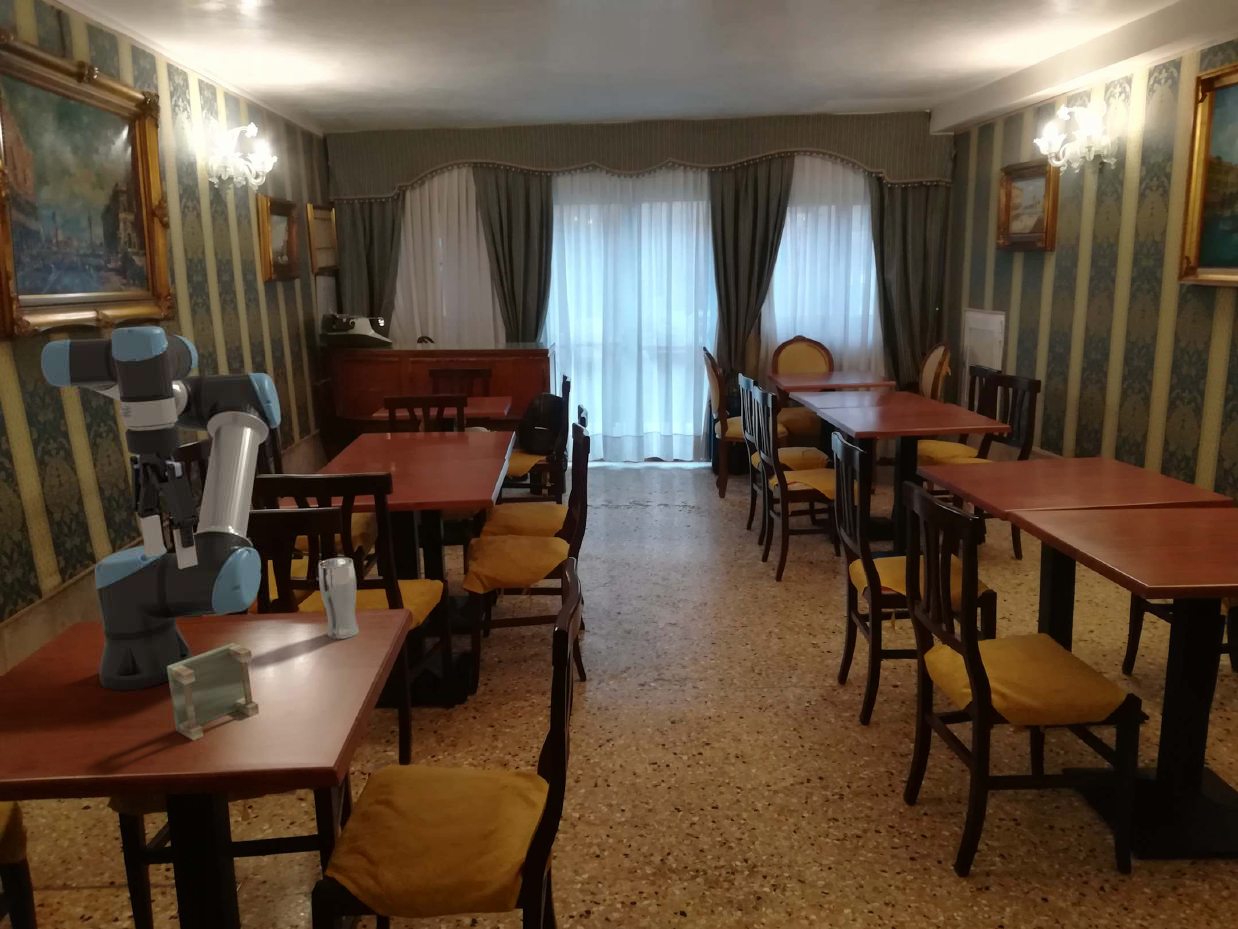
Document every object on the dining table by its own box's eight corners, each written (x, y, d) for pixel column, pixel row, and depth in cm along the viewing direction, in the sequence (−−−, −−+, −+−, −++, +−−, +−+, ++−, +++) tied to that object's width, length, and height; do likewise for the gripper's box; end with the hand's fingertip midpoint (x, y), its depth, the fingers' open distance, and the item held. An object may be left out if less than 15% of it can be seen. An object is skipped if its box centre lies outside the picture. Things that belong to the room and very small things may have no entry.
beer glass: (341, 643, 174) (333, 570, 171) (317, 636, 178) (309, 565, 175) (368, 630, 180) (361, 560, 177) (345, 624, 184) (338, 555, 180)
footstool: (176, 730, 142) (166, 666, 139) (241, 703, 150) (233, 642, 148) (193, 740, 138) (183, 675, 136) (259, 712, 147) (250, 650, 144)
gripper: (95, 424, 144) (116, 554, 148) (161, 435, 130) (182, 579, 134) (142, 417, 149) (161, 543, 154) (211, 427, 135) (230, 566, 140)
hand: (171, 560), depth 144 cm, fingers open, 10 cm apart
